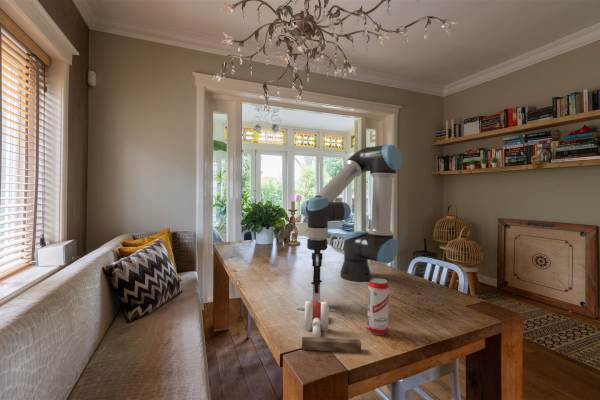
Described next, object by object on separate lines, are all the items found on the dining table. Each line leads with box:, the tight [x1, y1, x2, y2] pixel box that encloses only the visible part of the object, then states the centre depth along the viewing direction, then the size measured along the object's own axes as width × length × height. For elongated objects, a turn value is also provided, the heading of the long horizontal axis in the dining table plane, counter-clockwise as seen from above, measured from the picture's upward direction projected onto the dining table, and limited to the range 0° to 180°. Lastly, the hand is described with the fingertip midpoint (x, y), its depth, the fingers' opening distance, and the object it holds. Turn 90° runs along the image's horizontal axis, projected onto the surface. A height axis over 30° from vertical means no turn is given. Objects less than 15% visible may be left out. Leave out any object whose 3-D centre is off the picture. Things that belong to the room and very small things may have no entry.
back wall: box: [301, 336, 362, 353], centre depth 78 cm, size 16×2×2 cm, turn 87°
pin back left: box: [304, 300, 313, 332], centre depth 88 cm, size 2×2×8 cm
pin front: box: [312, 317, 322, 338], centre depth 87 cm, size 2×2×8 cm
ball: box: [311, 299, 321, 320], centre depth 96 cm, size 6×6×6 cm
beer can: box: [366, 277, 390, 336], centre depth 88 cm, size 6×6×16 cm
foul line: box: [296, 307, 337, 312], centre depth 103 cm, size 14×2×1 cm, turn 87°
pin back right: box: [320, 301, 330, 333], centre depth 88 cm, size 2×2×8 cm
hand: (316, 300), depth 107 cm, fingers closed
